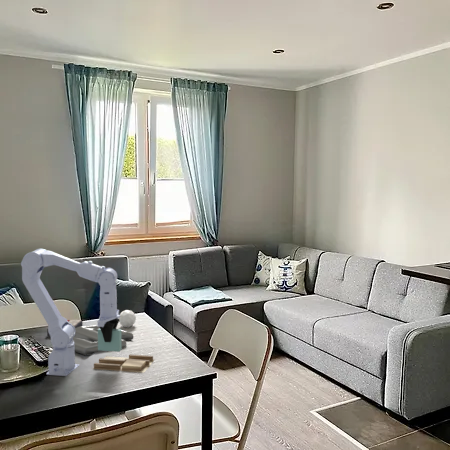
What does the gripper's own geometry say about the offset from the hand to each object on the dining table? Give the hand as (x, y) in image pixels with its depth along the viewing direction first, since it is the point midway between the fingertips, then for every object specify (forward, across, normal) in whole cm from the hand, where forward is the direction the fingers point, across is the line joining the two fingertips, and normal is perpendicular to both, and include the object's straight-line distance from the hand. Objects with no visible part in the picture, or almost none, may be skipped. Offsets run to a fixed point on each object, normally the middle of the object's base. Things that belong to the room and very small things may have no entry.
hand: (109, 340), depth 166 cm
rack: (+10, +2, -4) cm, 12 cm away
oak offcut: (+8, 0, -9) cm, 12 cm away
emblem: (+11, +24, +16) cm, 30 cm away
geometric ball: (+10, +48, +12) cm, 50 cm away
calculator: (+11, +36, +36) cm, 52 cm away
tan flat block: (+9, 0, -9) cm, 13 cm away
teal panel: (+3, 0, 0) cm, 3 cm away
